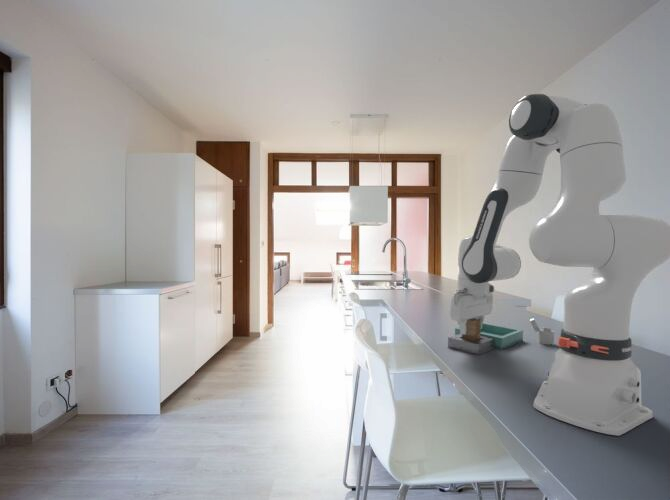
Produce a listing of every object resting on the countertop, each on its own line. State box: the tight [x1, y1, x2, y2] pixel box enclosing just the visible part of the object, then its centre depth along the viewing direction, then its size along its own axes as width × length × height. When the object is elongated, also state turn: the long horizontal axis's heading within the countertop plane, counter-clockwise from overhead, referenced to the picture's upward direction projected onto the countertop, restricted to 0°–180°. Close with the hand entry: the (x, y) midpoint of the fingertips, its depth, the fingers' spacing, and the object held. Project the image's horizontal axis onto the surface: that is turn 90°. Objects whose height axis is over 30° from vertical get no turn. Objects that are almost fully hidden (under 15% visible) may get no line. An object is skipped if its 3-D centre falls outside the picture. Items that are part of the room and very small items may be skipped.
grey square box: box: [447, 334, 495, 356], centre depth 110 cm, size 10×10×3 cm
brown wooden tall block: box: [462, 317, 481, 342], centre depth 110 cm, size 4×4×10 cm
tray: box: [454, 322, 524, 350], centre depth 120 cm, size 16×16×4 cm
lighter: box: [528, 317, 555, 346], centre depth 116 cm, size 7×2×8 cm, turn 71°
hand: (471, 331), depth 110 cm, fingers open, 8 cm apart
